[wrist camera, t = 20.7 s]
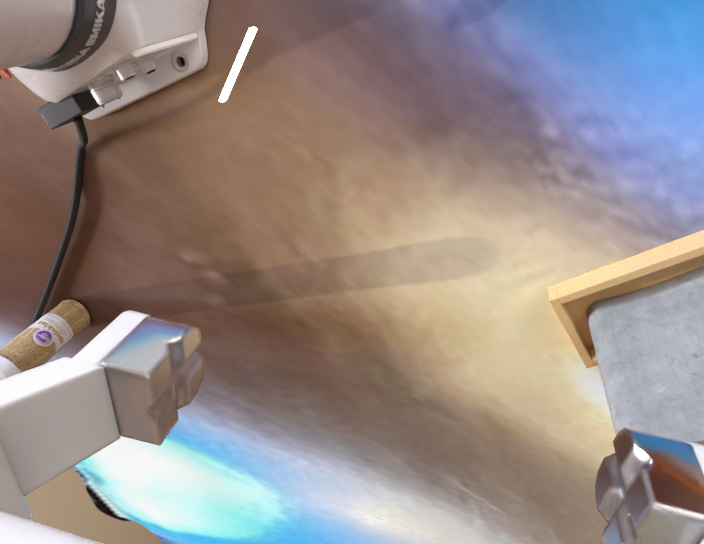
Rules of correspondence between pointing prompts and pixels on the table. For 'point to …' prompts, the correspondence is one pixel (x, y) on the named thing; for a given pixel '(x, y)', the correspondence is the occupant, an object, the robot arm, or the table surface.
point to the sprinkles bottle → (43, 338)
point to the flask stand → (620, 285)
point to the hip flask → (654, 356)
